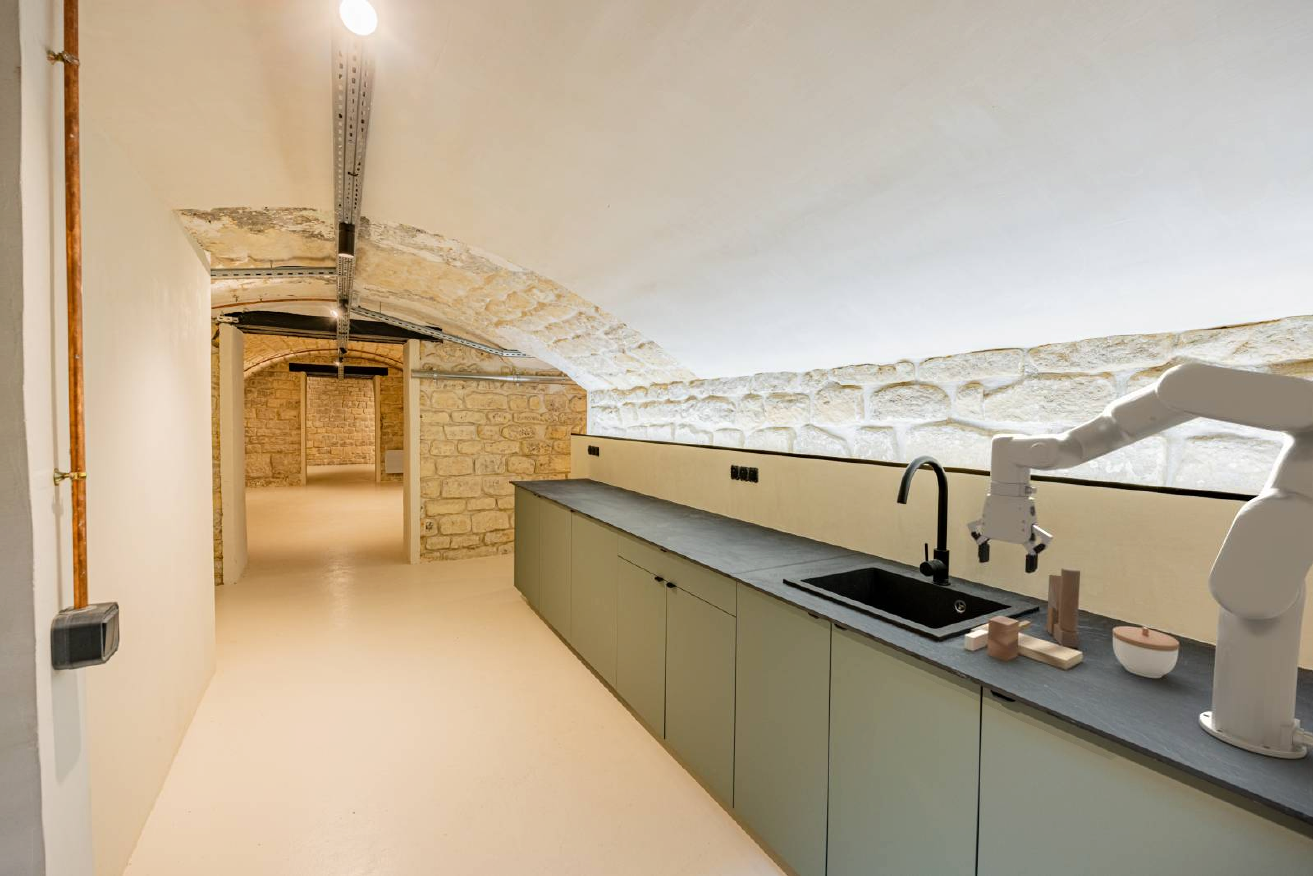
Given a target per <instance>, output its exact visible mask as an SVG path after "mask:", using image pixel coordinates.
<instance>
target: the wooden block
mask: <svg viewBox="0 0 1313 876" xmlns="http://www.w3.org/2000/svg"><path fill="white" fill-rule="evenodd" d="M1080 582H1081V571H1080V570H1079V569H1078V568H1075V567H1062V568H1061V570H1060V575H1056V574H1049V575H1048V593H1047V602H1048V603H1047V611H1046V613H1047V615H1046V631H1047V632H1048V634H1050V635H1051V636H1053V639H1055V641H1056V642H1057V643H1058V645H1060V646H1064V647H1067V648H1072V649H1073V648H1074V649H1079V647H1080V633H1079V632H1078V622H1079V621H1078V620H1079V603H1080V586H1081V583H1080Z"/></svg>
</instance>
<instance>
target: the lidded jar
mask: <svg viewBox="0 0 1313 876" xmlns="http://www.w3.org/2000/svg"><path fill="white" fill-rule="evenodd" d="M1112 647H1113V653H1114V654H1115V657H1116V659H1117V660H1118V662H1119V663H1120V664H1121V665H1122V666H1124V669H1125V670H1126V671H1128V672H1129V673H1131V674H1134V675H1137V676H1140V677H1144V678H1150V679H1161V678H1163V676H1165V675H1166V674H1168V673H1170V672H1171V671H1173V669H1174V668H1175V667H1176V664H1177V661H1178V656H1179V648H1180V642H1179V641H1178V640H1177V639H1176V638H1174V636H1173V637H1172V636H1171V635H1168V634H1167V633H1166V634H1165V633H1162V632H1159V631H1156V630H1152V629H1149V628H1148V627H1146V626H1144V627H1143V626H1142V627H1135V626H1126V625H1125V626H1121V625H1120V626H1116V627H1113V628H1112Z"/></svg>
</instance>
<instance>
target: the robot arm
mask: <svg viewBox="0 0 1313 876" xmlns="http://www.w3.org/2000/svg"><path fill="white" fill-rule="evenodd" d="M1199 418H1204V419H1209V420H1214V421H1218V422H1225V423H1228V424H1229V423H1230V424H1234V425H1235V424H1236V425H1240V426H1246V427H1252V428H1255V429H1261V430H1265V431H1270V432H1271V431H1273V432H1280V433H1283V436H1284V443H1283V446H1282V449H1281V451H1280V453H1279V455H1278V456H1277V458H1276V461H1275V462H1274V465H1273V467H1272V470H1271V473H1270V474H1269V477H1268V479H1267V481H1266V483H1265V485H1264V486H1263V488H1262V490H1261V492H1260V493H1259V494H1258V496H1256V497H1254V498H1252V499H1251V500H1249V501H1248V502H1246V503H1245V504H1244V505H1242V507H1241V508H1240V510H1239V511H1238V513H1237V514H1236V516H1235V518H1234V520H1233V521H1232V523H1231V526H1230V528H1229V531H1228V533H1227V534H1226V537H1225V539H1224V540H1223V544H1222V546H1221V548H1220V549H1219V553H1218V554H1217V555H1216V556H1217V557H1216V559H1215V560H1214V563H1213V565H1212V568H1211V570H1210V572H1209V575H1208V581H1207V582H1208V589H1209V592H1210V594H1211V596H1212V598H1213V599H1214V601H1215V602H1216V603H1218V605H1219V610H1218V616H1217V617H1218V618H1217V628H1216V629H1217V631H1216V637H1215V638H1216V640H1215V641H1216V642H1215V654H1214V672H1213V686H1212V698H1211V699H1212V701H1211V702H1212V703H1211V711H1210V710H1209V711H1204V712H1202V713H1200V714H1199V715H1198V724H1199V726H1200V727H1201V728H1202V729H1203V730H1205V732H1207V733H1209V734H1210V735H1212V736H1213V737H1215V738H1217V739H1218V740H1220V741H1223V742H1226V743H1228V744H1230V745H1233V746H1235V747H1238V748H1240V749H1243V750H1245V751H1250V752H1253V753H1256V754H1260V755H1264V756H1269V757H1275V758H1279V759H1280V758H1281V759H1299V758H1304V757H1305V756H1307V753H1308V750H1307V748H1308V749H1311V750H1313V733H1312V732H1308V731H1305V728H1302V727H1300V725H1301V720H1300V719H1298V718H1295V712H1296V710H1295V709H1296V700H1297V699H1296V697H1297V682H1298V669H1299V656H1300V649H1301V638H1302V637H1301V635H1302V628H1303V627H1302V626H1303V618H1304V612H1305V611H1304V610H1305V605H1306V604H1305V603H1306V595H1307V583H1306V578H1307V575H1308V573H1309V571H1310V569H1311V567H1312V566H1313V380H1310V379H1305V378H1302V377H1296V376H1291V375H1290V376H1289V375H1284V374H1277V373H1267V372H1258V371H1251V370H1244V369H1237V368H1229V367H1222V366H1218V365H1217V366H1216V365H1212V364H1211V365H1210V364H1206V363H1199V362H1186V363H1181V364H1178V365H1175V366H1173V367H1170V368H1169V369H1168V370H1166V371H1165V372H1163V374H1162V375H1161V376H1159V378H1158V380H1157V381H1156V382H1154V383H1151V384H1148V385H1146V386H1145V387H1142V388H1140V389H1138V390H1136V391H1134V392H1131V393H1129V394H1127V395H1124V396H1122V397H1120V398H1117V399H1115V400H1114V401H1111V402H1110V403H1109V404H1108V405H1106V407H1105V408H1104V410H1103V411H1102V413H1100V414H1099V415H1097V416H1096V417H1095V418H1092V420H1089V421H1087V422H1085V423H1083V424H1081V425H1078V426H1076V427H1073V428H1071V429H1069V430H1067V431H1064V432H1062V433H1056V434H1055V433H1054V434H1052V433H1051V434H1037V435H1035V434H1034V435H1026V434H1018V433H1017V434H1016V433H1014V434H1012V433H1010V434H1009V433H1004V434H1003V433H1000V434H995V435H994V436H993V437H992V439H991V444H990V445H991V447H990V448H991V450H990V451H991V452H990V476H989V480H990V481H989V493H988V494H986V497H985V501H984V504H983V507H982V508H983V509H982V513H981V518H980V519H976V520H974V521H972V522H968V523H967V528H968V531H969V532H970V536H971V537H972V538H973V540H974V541H975V544H976V545H978V546H977V547H978V548H977V557H978V562H979V564H983V563H984V564H985V563H988V562H990V553H991V552H990V548H991V547H990V546H991V545H990V544H989V542H990V541H991V540H992V541H993V540H994V541H1001V542H1004V543H1011V544H1017V545H1022V546H1023V547H1024V549H1025V551H1027V553H1028V554H1026V555H1025V564H1024V565H1025V569H1024V570H1025V573H1026V574H1031V573H1032V574H1033V573H1035V572H1036V570H1037V569H1038V566H1039V554H1041V553H1042V552H1043V551H1045V550H1046V549H1048V548H1049V545H1050V544H1051V542H1053V539H1054V537H1053V535H1051V534H1050V533H1048V532H1046V531H1045V530H1043V529H1041V528H1040V526H1039V527H1038V514H1037V513H1038V512H1037V507H1036V502H1035V498H1033V497H1030V496H1031V495H1032V494H1037V492H1038V489H1037V487H1033V486H1032V483H1031V470H1036V471H1042V472H1044V471H1045V472H1046V471H1047V472H1049V471H1058V470H1059V471H1060V470H1067V469H1071V468H1074V467H1077V466H1080V465H1082V464H1085V463H1088V462H1090V461H1093V460H1096V459H1098V458H1100V457H1103V456H1105V455H1108V454H1110V453H1112V452H1115V451H1117V450H1119V449H1122V448H1124V447H1128V446H1131V445H1133V444H1135V443H1137V442H1139V441H1142V440H1144V439H1147V438H1149V437H1152V436H1154V435H1157V434H1160V433H1162V432H1163V431H1166V430H1169V429H1172V428H1174V427H1177V426H1180V425H1182V424H1184V423H1188V422H1191V421H1192V420H1195V419H1199ZM978 527H980V531H978ZM980 532H981V533H980ZM1038 538H1040V539H1041V540H1040V542H1039V543H1038V545H1037V544H1036V542H1037V541H1038Z"/></svg>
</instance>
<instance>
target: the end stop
mask: <svg viewBox="0 0 1313 876" xmlns="http://www.w3.org/2000/svg"><path fill="white" fill-rule="evenodd" d="M963 643H964V645H963V649H965V650H969V651H972V652H974V651H977V650H979V649H981V648H984V647H986V646H987V647H988V631H985V630H982V629H980V630H977V631H975V632H972V633H971V632H970V633H965V634H964V642H963Z"/></svg>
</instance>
